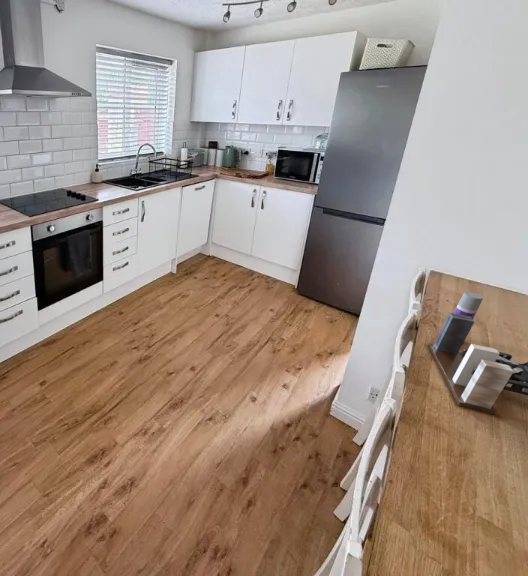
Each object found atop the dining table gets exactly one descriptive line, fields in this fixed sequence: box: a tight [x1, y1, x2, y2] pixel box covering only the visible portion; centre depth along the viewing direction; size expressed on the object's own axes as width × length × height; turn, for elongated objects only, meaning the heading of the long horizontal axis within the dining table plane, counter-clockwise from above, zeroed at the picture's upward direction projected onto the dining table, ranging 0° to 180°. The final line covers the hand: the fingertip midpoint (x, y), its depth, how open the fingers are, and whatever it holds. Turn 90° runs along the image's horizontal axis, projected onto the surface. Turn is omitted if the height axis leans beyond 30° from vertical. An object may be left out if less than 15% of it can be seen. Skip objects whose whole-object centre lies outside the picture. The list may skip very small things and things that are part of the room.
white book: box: [452, 343, 500, 387], centre depth 90 cm, size 5×2×11 cm, turn 68°
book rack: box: [427, 312, 514, 416], centre depth 95 cm, size 7×27×12 cm, turn 158°
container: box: [453, 291, 484, 320], centre depth 111 cm, size 5×5×15 cm
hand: (467, 361), depth 91 cm, fingers open, 8 cm apart
